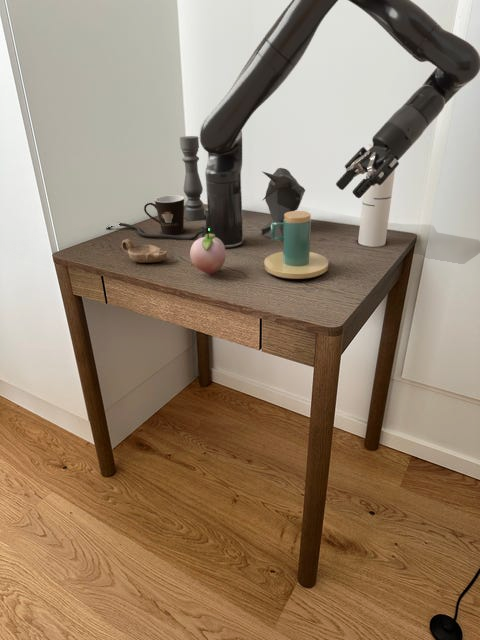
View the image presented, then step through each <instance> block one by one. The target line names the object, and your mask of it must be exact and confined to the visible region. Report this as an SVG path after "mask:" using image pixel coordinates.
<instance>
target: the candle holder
mask: <svg viewBox="0 0 480 640" xmlns="http://www.w3.org/2000/svg"><path fill="white" fill-rule="evenodd" d="M179 146H180V150H181V153H182V155H183V157H182V159H181V161H182V162H183V164H184V168H185V175H184V183H183V192H184V195H185V196H186V199H187V200H186V202H185V206H186V207H184V213H185V219H186V220H187V221H195V222H196V221H201V220H204V219H206V214H205V206H203V205H204V202H203V201H202V199H201V195H202V193H203V190H204V187H203V184H202V181H201V178H200V175H199V170H198V169H199V168H198V161H199V160H200V157H199V156H198V152H199V148H200V139H199V136H198V135H197V136H196V135H187V136H185V135H184V136H180V137H179Z"/></svg>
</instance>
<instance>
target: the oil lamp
mask: <svg viewBox="0 0 480 640" xmlns="http://www.w3.org/2000/svg"><path fill="white" fill-rule="evenodd" d="M120 246H121V249H122V250H123V252H125V253H127V254H128V256H129V257H130V259H131V260H132V261H134V262H136V263H141V264H142V263H143V264H144V263H145V264H146V263H160V262H162V261H164V260H165V259H166V258H167V254H168V253H167V252H168V251H167V250H162V248H160V247H158V246H156V245H153V244H137V245H134V243H133V242H132V240H131V239H129V238H126V239H124V240H122V241H121V245H120ZM127 246H128V247H127Z"/></svg>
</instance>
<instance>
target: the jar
mask: <svg viewBox="0 0 480 640" xmlns="http://www.w3.org/2000/svg"><path fill="white" fill-rule="evenodd" d="M311 215H312V214H311V213H310V212H308V211H304V210H295V211H290V212H287V213H285V214H284V219H283V223H271V237H270V240H271V241H272V242H275V241H276V242H278V241H281V242H282V251H278V252H275V253H271V254H270V255H268V256H267V257H265V259H264V260H263V268H264V270H265V271H266V272H267V273H268V274H270V275H272V276H274V275H275V276H274V277H276V276H279V277H283V278H292V279H302V278H311V277H315V276H317V277H319V276H320V275H323V274H325V273H326V272H327V271H328V270H329V260H328V258H327V257H325V256H324V255H321V254H319V253H316V252H312V251H311V234H312V233H311V232H312V230H311V229H312V219H311V217H312V216H311ZM275 227H283V237H275ZM318 275H319V276H318ZM315 278H316V277H315Z"/></svg>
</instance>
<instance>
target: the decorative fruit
mask: <svg viewBox="0 0 480 640" xmlns="http://www.w3.org/2000/svg"><path fill="white" fill-rule="evenodd" d="M189 256H190V261H191V262H192V265H193V266H194V267H195V268H196V269H198V270H200V271H201V272H203V273H205V274H209V275H213V274H215V273H217V272H218V271H220V270H221V269H222V267H223V266H224V265H225V262H226V258H227V253H226V248H225V246H224V244H223V243H222V241H221V240H220V239H218V238H216V237H215V235H214V234H209V233H207V234H206V235H205V237H202V236H201V237H199V238H198V239H196V240H195V241H194V242H193V243H192V244H191V248H190V252H189Z"/></svg>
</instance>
